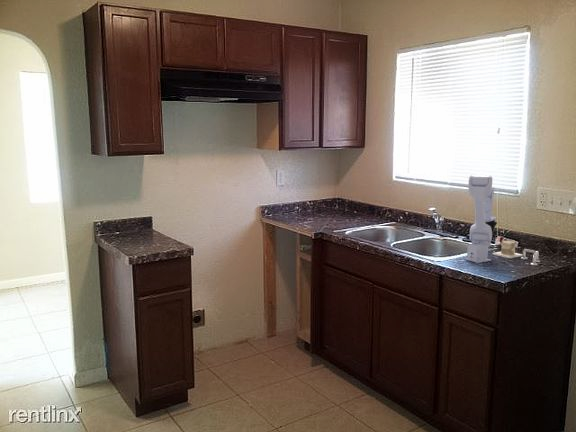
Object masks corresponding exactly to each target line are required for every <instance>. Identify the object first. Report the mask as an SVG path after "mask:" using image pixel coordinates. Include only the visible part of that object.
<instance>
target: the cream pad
mask: <svg viewBox="0 0 576 432" xmlns="http://www.w3.org/2000/svg"><path fill="white" fill-rule="evenodd" d="M492 255H493V256H497V257H501V258H506V259H514V258H521V257H523V253H517V252H515V254H513V255H506V254H501V251H496V252H492Z"/></svg>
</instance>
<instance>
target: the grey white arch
mask: <svg viewBox="0 0 576 432" xmlns="http://www.w3.org/2000/svg"><path fill="white" fill-rule="evenodd" d="M527 253H532V254H533V256H532V262H530V266H538V263H541V260H539V256H540V255H539V250H533V249H527V248H523V250H522V254H523V255H522V256H520V259H521V260H528V257H527V256H526V254H527Z"/></svg>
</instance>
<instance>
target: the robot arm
mask: <svg viewBox="0 0 576 432" xmlns="http://www.w3.org/2000/svg"><path fill="white" fill-rule="evenodd" d="M468 193H469V196H471V197H472V198H473V202H474V205H473V206H474V222H473V224H472V225H471V226H470V228H469V240H470V242H471V243H470V244H468V246H467V249H466V250H467V251H466V253H467V254H466V258H465V260H467V261H470V262H474V263H477V264H479V263H486V262H491V261H492V259H490V258H488V256H489V255H488V253H489V247H488V243H489V242H492V239H493V231H494V229H495V227H496V226H497V224H498V222H497V217H496V216H492V214H493V201H494V196H495V187H493V176H492V175H470V176H469V177H468ZM485 222H486V223H485Z"/></svg>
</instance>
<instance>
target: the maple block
mask: <svg viewBox="0 0 576 432" xmlns="http://www.w3.org/2000/svg"><path fill="white" fill-rule="evenodd" d="M500 252H501V254H506V255H513V254H515V253H516V242H514V241H509V240H507V241H506V240H505V241H501V250H500Z"/></svg>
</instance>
